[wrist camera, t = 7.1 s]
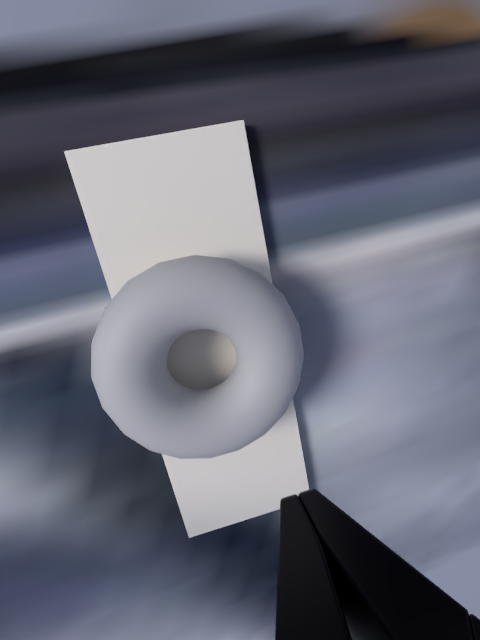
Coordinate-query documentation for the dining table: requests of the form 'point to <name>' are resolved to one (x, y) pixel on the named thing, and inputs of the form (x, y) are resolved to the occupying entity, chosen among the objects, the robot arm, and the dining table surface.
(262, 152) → the dining table surface
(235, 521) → the placemat
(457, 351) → the dining table surface
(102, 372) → the donut
